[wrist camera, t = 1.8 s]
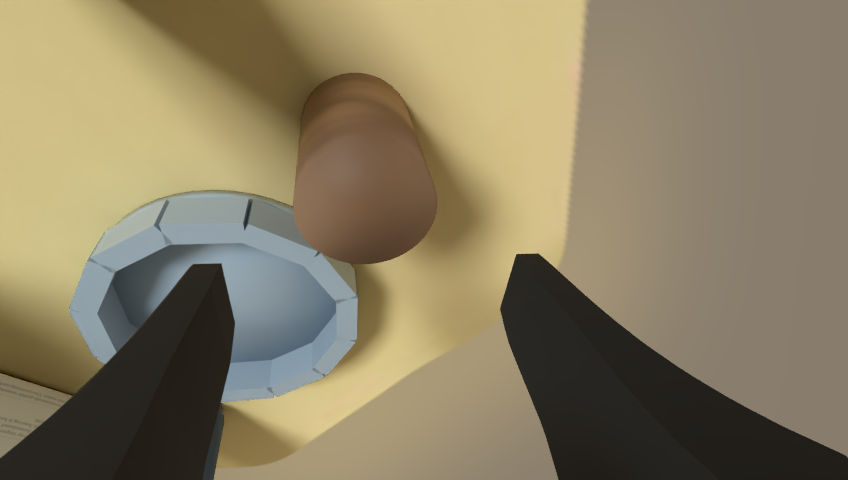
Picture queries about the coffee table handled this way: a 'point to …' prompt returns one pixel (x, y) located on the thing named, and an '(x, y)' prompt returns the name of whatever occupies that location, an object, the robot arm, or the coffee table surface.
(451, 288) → the coffee table surface
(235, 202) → the round tray
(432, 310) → the coffee table surface
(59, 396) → the skincare box
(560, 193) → the coffee table surface
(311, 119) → the brown cylinder
